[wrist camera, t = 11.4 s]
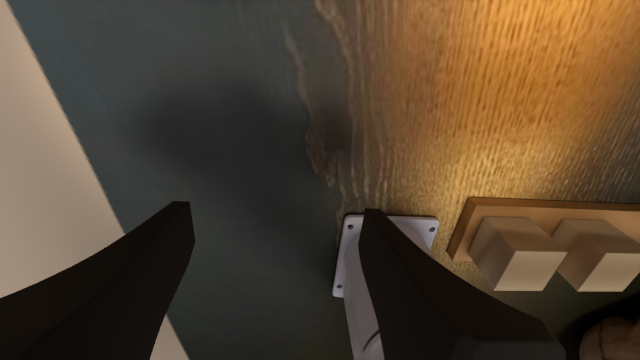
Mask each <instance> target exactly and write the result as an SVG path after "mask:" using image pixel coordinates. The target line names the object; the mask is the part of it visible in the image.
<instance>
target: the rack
mask: <svg viewBox="0 0 640 360" xmlns="http://www.w3.org/2000/svg"><path fill="white" fill-rule="evenodd" d="M447 253H448V255H449V256H450V258H451V259H452V261H472V262H474V263H475V264H476V266H477V267H478V269H479V270H480V272H481V273H482V274H483V276H484V277H485V279H486V280H487V281H488V283H489V284H490V286H491V287H492V288H493V290H495V291H542V290H543V288H544V287H545V285H546V284H547V283H548V281H549V280H550V278H551V277H552V275H553V274H554V272H555V271H556V270H557V271H558V272H559V273H560V274H561V275H562V276H563V277H564V278H565V279H566V280H567V281H568V282H569V283H570V284H571V285H572V286H573V287H574V288H575V289H576V290H577V291H621V292H622V291H623V290H624V289H625V288H626V287H627V286H628V285H629V284H630V282H631V281H632V280H633V279H634V278H635V277H636V276H637V274H638V273H639V272H640V204H619V203H595V202H572V201H549V200H525V199H502V198H479V197H469V198H468V201H467V203H466V206H465V208H464V211H463V213H462V215H461V218H460V220H459V223H458V225H457V228H456V230H455V233H454V235H453V238H452V240H451V242H450V245H449V247H448V250H447Z"/></svg>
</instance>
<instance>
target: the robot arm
mask: <svg viewBox="0 0 640 360" xmlns="http://www.w3.org/2000/svg"><path fill="white" fill-rule="evenodd" d="M439 224H440V222H439V220H438V219H437V218H434V217H408V216H386V215H385V214H384V213H383V212H382V211H381V210H380V209H368V208H365V213H364V215H348V216H346V217H345V219H344V225H343V231H342V237H341V243H340V249H339V255H338V261H337V266H336V272H335V278H334V284H333V290H332V292H333V296H335V297H343V298H344V304H345V310H346V316H347V322H348V328H349V334H350V340H351V346H352V351H353V355H354V360H565V359H566V352H565V349H564V348H563V347H562V345H561V344H560V343H559V342H558V340H557V339H556V338H555V337H554V335H553V334H552V333H551V331H550V330H549V329H548V328H547V326H546V325H545V324H544V323H543V322H542V321H541V320H539V319H537V318H535V317H532V316H530V315H528V314H526V313H524V312H522V311H519V310H517V309H515V308H513V307H511V306H509V305H507V304H505V303H503V302H501V301H499V300H497V299H495V298H493V297H492V296H490V295H488V294H486V293H484V292H483V291H481V290H479V289H477V288H476V287H474V286H472V285H471V284H469V283H467V282H466V281H464V280H463V279H461V278H459V277H458V276H456V275H455V274H453V273H452V272H451V271H449V270H448V269H446V268H445V267H444V266H442V265H441V264H440V263H438V262H437V261H436V260H435V258H434V257H433V255H432V253H431V251H430V249H431V246H432V243H433V241H434V238H435V235H436V232H437V230H438V227H439ZM348 225H352V226H350V227H349V226H348ZM431 227H433V228H431ZM430 228H431V229H430ZM194 244H195V237H194V230H193V223H192V216H191V209H190V203H189V202H181V201H173V202H172V203H170V204H169V205H167V206H166V207H164V208H163V209H162V210H160V211H159V212H157V213H156V214H155V215H153V216H152V217H151V218H149V219H148V220H146V221H145V222H144V223H142V224H141V225H139V226H138V227H136V228H135V229H134V230H132V231H131V232H129V233H128V234H126V235H125V236H123V237H121V238H120V239H118V240H117V241H115V242H114V243H112V244H111V245H109V246H108V247H106V248H104V249H103V250H101V251H99V252H97V253H96V254H94V255H92V256H90V257H89V258H87V259H85V260H83V261H81V262H79V263H78V264H76V265H74V266H72V267H70V268H68V269H66V270H63V271H61V272H59V273H57V274H55V275H53V276H51V277H49V278H47V279H45V280H43V281H40V282H38V283H36V284H34V285H31V286H29V287H27V288H24V289H22V290H20V291H17V292H15V293H13V294H10V295H7V296H5V297H2V298H0V360H150V356H151V353H152V350H153V347H154V344H155V341H156V338H157V335H158V332H159V330H160V327H161V324H162V322H163V319H164V317H165V314H166V312H167V310H168V308H169V306H170V303H171V301H172V299H173V297H174V295H175V292H176V290H177V288H178V286H179V284H180V282H181V279H182V277H183V275H184V273H185V270H186V268H187V266H188V264H189V260H190V257H191V254H192V251H193V247H194Z"/></svg>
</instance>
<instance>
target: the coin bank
mask: <svg viewBox="0 0 640 360" xmlns="http://www.w3.org/2000/svg"><path fill="white" fill-rule="evenodd" d="M579 354H580V360H640V312H639V313H636V314H634V315H632V316H629V317H608V318H605V319H603V320H601V321H599V322H598V323H597V324H595V325H594V326H593V327H592V328H590V329H589V330H588V331H587V332H586V333H584V334H583V335H582V342H581V344H580V349H579Z"/></svg>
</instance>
